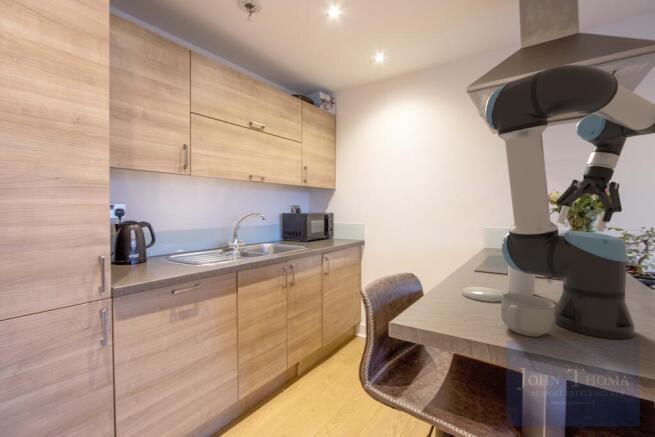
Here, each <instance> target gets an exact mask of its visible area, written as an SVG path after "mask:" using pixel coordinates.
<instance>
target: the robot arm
mask: <svg viewBox="0 0 655 437" xmlns="http://www.w3.org/2000/svg"><path fill="white" fill-rule="evenodd" d="M571 113H572V114H573V113H579V114H581V115H582V114H583V115H586V116H584V117H582V118H581V119H580V120H579V121H578V123H577V124H576V126H575V133H576V134H577V136H579V138H581V140H583V141H586V142H588V143H590V144H592V145H593V148H592V151H591V152H590V154H589V155H590V156H589V157H588V161H587V164H586V165H587V166H586V167H585V169H584V172H583V174H582V176H583V178H582V180H578V179H572V181H571V184H570V185H569V186H568V187H567V189H566V190H565V191H564V192H563V193H561V195H560V196H559V197H558V199H557V200H556V203H557V204H559V205H560V206H559V209H558V212H557V213H558V217H557V220H556V223H557V224H561V225H564V224H565V222H566V219H567V216H568V214H569V211H570V208H571V207H570V206H571V205H572V203H575V201H577V200H579V199H580V198H581V197H582V196H585V195H594V196H598V199H599V201H600V202H601V204H602V206H603V209H604V210H602V211H601V213H600V214H599V218H598V221H597V223H596V225H595V229H594V230H595V231H597V232H591V231H590V232H589V231H580V230H566V231H565V232H564V234H563V235H561V234H559V232H560V231H559V226H558V225H557V224H555V222H552V220H551V212H550V202H549V200H550V199H549V194H548V193H549V192H548V191H549V190H548V182H547V174H546V164H545V163H546V160H545V152H544V143H543V142H544V141H543V133H544V132H545V131H546V129H547V128H548V127H549V122H548V119H549V118H550V119H551V118H554V117H557V116H562V115H566V114H571ZM485 119H486V123H487V124H489V127H490V128H491V129H492V130H494V131H497V136H498V138H500V139H502V140H503V141H504V143H505V145H504V146H505V153H506V162H507V170H508V180H509V187H510V196H511V206H512V213H513V214H512V215H513V222H514V223H513V224H512V225H511V226H510V227H509V228H508V231H509V233H507V234H506V235H505V236H504V238H503V242H502V243H501V252H502V257H503V260H504V261H505V263H506V264H507V266H508V265H509V266H510V267H511V268H513V269H514V270H517V271H521V272H524V273H527V274H535V276H536V275H537V276H541V277H542V276H543V277H548V278H553V279H559V280H562V281H563V282H562V283H563V284H562V285H563V286H562V294H561V296H560V298H559V300H558V303H557V305H555V306H556V307H555V309H554V318H553V322H555V323H556V324H557V325H558V326H560V327H563V328H564V329H567V330H570V331H573V332H577V333H579V334H583V335H587V336H592V337H597V338H603V339H613V340H626V339H631V338H633V337H635V329H636V328H635V322H634V320H633V318H632V316H631V313H630V310H629V307H628V305H627V304H626V303H627V302H626V285H627V284H626V283H627V282H626V280H627V265H628V264H627V261H628V256H627V245H626V242H625V241H624V240H623V239H621V238H619V237H616V236H612V235H610V234H609V235H608V234H604V231H605V228H606V226H607V223H610V222H611V220H612V217H613V215H614V213H621V212H622V210H623V208H622V202H621V197H620V192H619V188H620V183H618V182H616V181H611V180H612V179H613V178H612V177H613V175H614V173H615V170H614V169H616V167H617V165H618V162H619V160H620V157H621V154H622V150H623V149H624V146H625V144H626V141H627V138H632V137H633V138H634V137H639V136H645V135H652V134H655V103H653V102H652V101H650V100H648V99H646V98H644V97H642V96H641V95H639V94H637V93H635V92H633V91H631V90H629V89H628V88H626V87H624V86H622V85H621V84H620V83H619V81H618V78H617V77H616V76H615V75H613V74H612V73H611V72H609V71H606V70H604V69H601V68H598V67H594V66H588V65H581V64H560V65H556V66H550V67H548V68H545V69H543V70H541V71H538V72H535V73H532V74H530V75H527V76H524V77H522V78H518V79H516V80H512V81H509V82H508V83H505V84H504V85H502V86H499V87H498V88H496V89H495V90H493V91H492V93H491V94H490V96H489V97H488V99H487V101H486V106H485ZM610 181H611V182H610ZM606 189H608V193H609V197H608V193H607V191H606ZM598 232H601V233H598Z"/></svg>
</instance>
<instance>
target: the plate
mask: <svg viewBox="0 0 655 437" xmlns="http://www.w3.org/2000/svg"><path fill="white" fill-rule="evenodd" d="M505 293H507V292H505V291H504V290H501V289H496V288H492V287H484V286H468V287H467V286H465V287H464V288H461V295H462V296H463V297H466V298H468V299H470V300H475V301H480V302H488V303H489V302H491V303H502V297H501V296H502V294H505Z"/></svg>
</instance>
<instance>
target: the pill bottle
mask: <svg viewBox="0 0 655 437" xmlns="http://www.w3.org/2000/svg"><path fill="white" fill-rule="evenodd" d="M535 286H536V274H527V273H524V272H521V271H517V270H514V269H513V268H511V267H510V266H509V265H508V264H507V291H508V293H520V294H527V295H532V296H535V292H536V287H535Z"/></svg>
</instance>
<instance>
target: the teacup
mask: <svg viewBox="0 0 655 437" xmlns="http://www.w3.org/2000/svg"><path fill="white" fill-rule="evenodd" d="M501 297H502V302H500V303H501V304H500V318H501V320H502V322H503V323H504V325H506V326H507V327H508V328H509V330H511V331H512V332H514V333H516V334H519V335H522V336H526V337H536V338H537V337H541V336H543V335H546V334H547V333H549V332H550V331H551V330H552V328H553V324H554V311H555V309H556V306H557V305H556V304H555V303H554V302H552V301H550V300H548V299H546V298H543V297H540V296H536V295H527V294H520V293H510V292H506V293H505V294H502V296H501Z"/></svg>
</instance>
